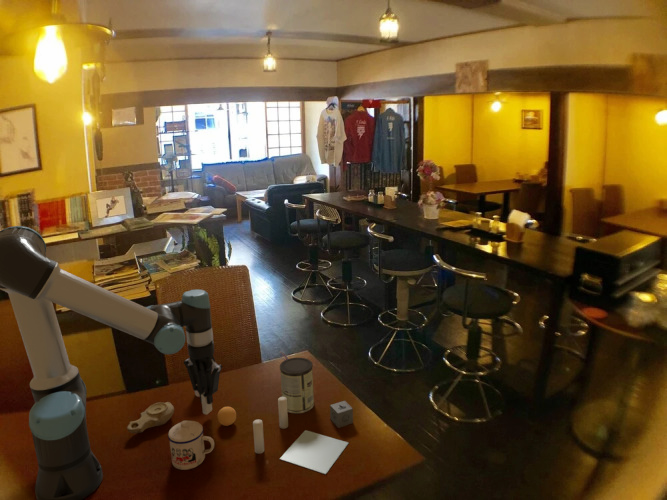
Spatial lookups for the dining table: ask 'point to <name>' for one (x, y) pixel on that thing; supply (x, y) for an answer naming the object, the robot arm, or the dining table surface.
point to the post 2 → (283, 412)
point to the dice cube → (341, 414)
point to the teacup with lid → (188, 444)
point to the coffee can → (297, 384)
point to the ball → (226, 416)
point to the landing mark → (314, 451)
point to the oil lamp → (152, 417)
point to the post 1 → (258, 436)
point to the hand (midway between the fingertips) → (207, 411)
